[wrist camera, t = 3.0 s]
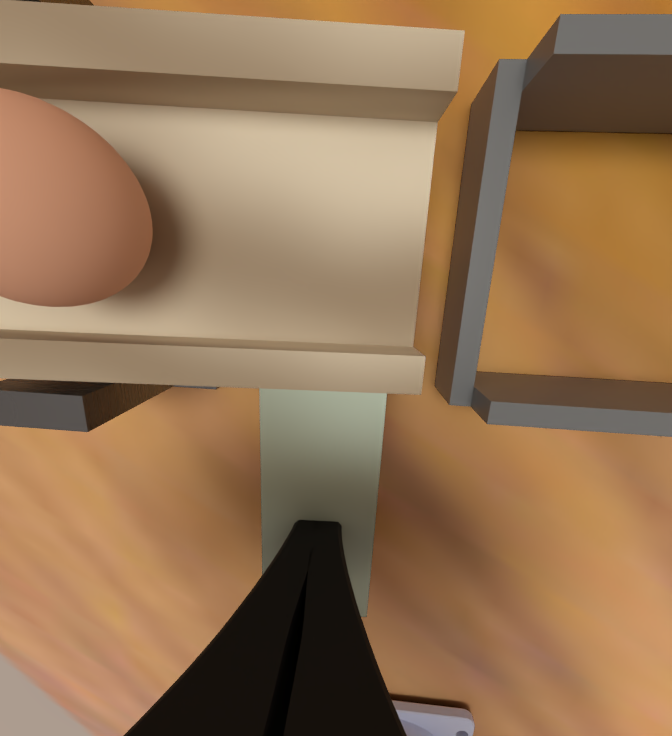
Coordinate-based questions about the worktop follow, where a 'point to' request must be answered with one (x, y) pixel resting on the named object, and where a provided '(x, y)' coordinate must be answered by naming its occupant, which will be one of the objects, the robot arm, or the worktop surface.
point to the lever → (253, 228)
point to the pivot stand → (70, 389)
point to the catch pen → (486, 198)
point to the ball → (65, 209)
